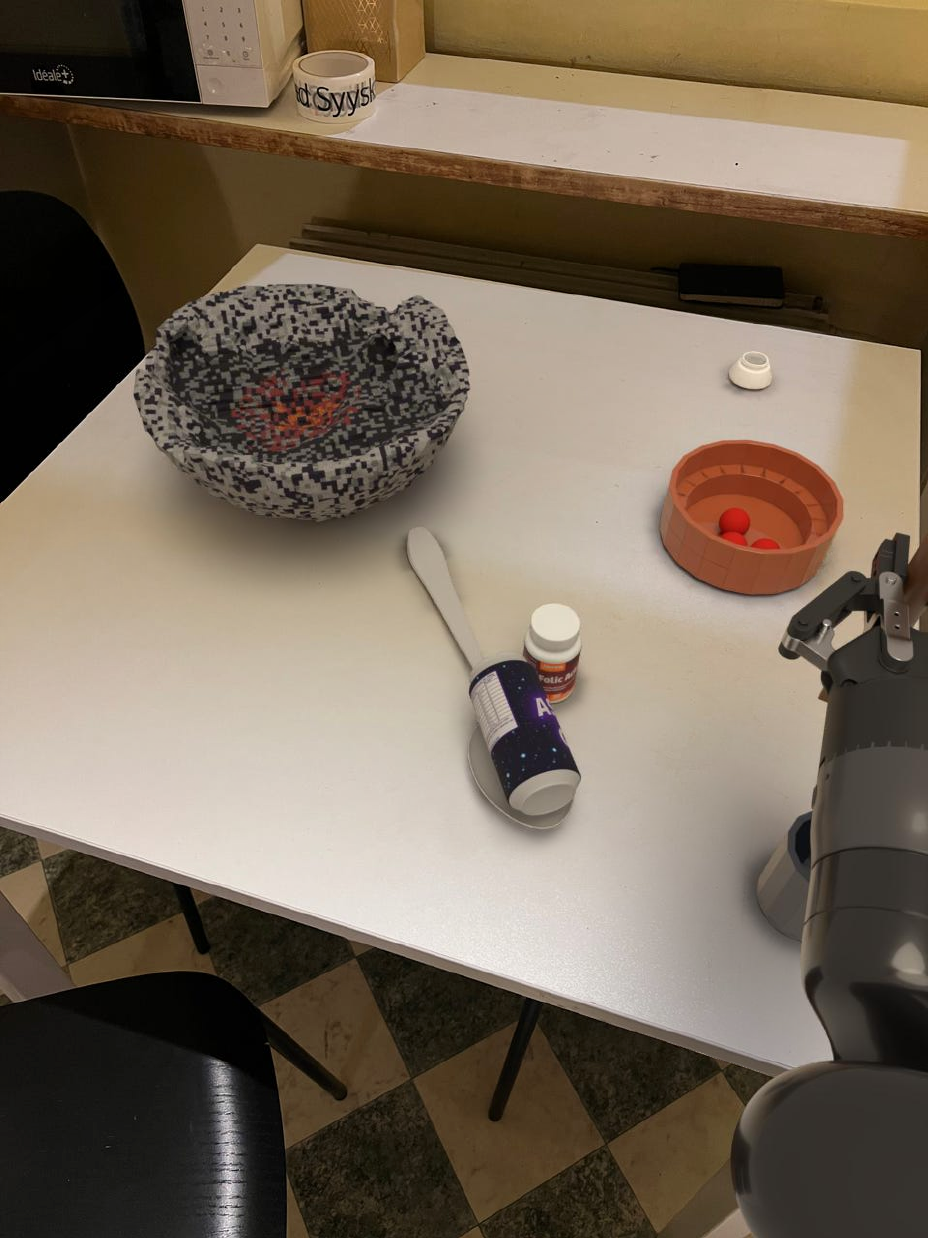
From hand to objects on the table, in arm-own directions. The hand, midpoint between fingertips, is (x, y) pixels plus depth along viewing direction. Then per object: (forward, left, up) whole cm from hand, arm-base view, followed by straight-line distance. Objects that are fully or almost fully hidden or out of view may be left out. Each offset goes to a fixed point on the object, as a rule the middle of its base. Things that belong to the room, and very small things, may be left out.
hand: (919, 550), depth 50 cm
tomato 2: (+4, -23, -24) cm, 33 cm away
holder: (-1, +10, -26) cm, 28 cm away
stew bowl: (+6, -27, -26) cm, 38 cm away
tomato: (+7, -23, -24) cm, 34 cm away
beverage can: (+18, +11, -20) cm, 29 cm away
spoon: (+27, -4, -26) cm, 38 cm away
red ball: (+7, -27, -24) cm, 36 cm away
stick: (0, +2, -13) cm, 13 cm away
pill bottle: (+21, -4, -26) cm, 34 cm away
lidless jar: (+7, -55, -26) cm, 61 cm away
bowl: (+50, -24, -26) cm, 61 cm away
